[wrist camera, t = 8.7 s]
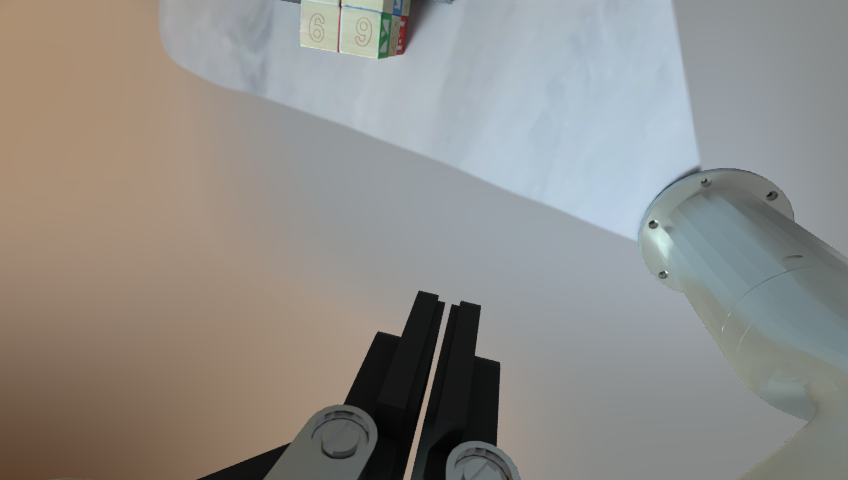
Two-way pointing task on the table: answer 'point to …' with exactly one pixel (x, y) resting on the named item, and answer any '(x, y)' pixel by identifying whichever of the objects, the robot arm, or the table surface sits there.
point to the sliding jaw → (443, 1)
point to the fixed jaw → (295, 0)
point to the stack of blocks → (355, 26)
